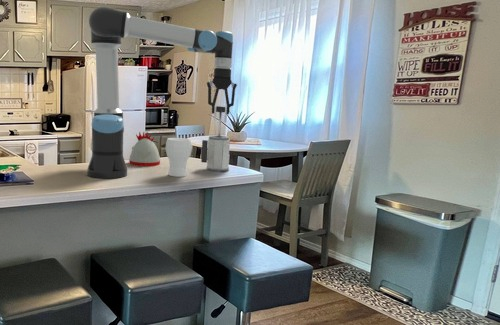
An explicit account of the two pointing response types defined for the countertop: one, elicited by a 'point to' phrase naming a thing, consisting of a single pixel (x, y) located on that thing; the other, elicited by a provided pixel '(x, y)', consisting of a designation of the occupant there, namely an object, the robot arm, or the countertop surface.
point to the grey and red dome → (144, 152)
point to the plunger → (220, 110)
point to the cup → (178, 155)
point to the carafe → (216, 153)
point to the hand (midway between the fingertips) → (220, 121)
